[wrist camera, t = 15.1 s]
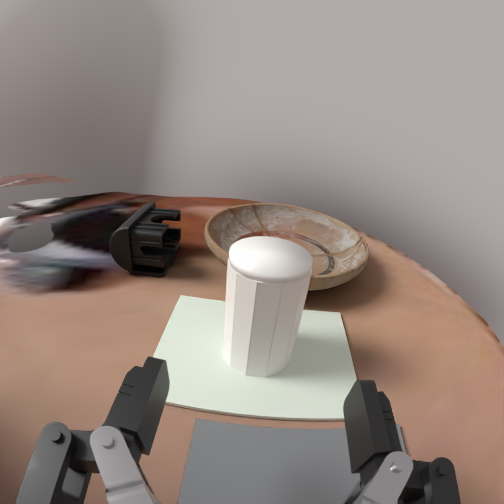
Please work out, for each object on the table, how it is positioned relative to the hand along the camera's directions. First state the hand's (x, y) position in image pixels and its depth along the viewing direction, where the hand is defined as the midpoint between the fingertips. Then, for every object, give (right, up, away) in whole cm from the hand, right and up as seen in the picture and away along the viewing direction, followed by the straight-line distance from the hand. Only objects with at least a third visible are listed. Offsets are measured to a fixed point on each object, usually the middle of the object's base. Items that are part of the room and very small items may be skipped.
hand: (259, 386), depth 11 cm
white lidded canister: (0, -3, +14) cm, 15 cm away
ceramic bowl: (+4, +4, +32) cm, 32 cm away
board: (0, -4, +15) cm, 15 cm away
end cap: (-15, +4, +28) cm, 32 cm away
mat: (+3, -10, +2) cm, 11 cm away
